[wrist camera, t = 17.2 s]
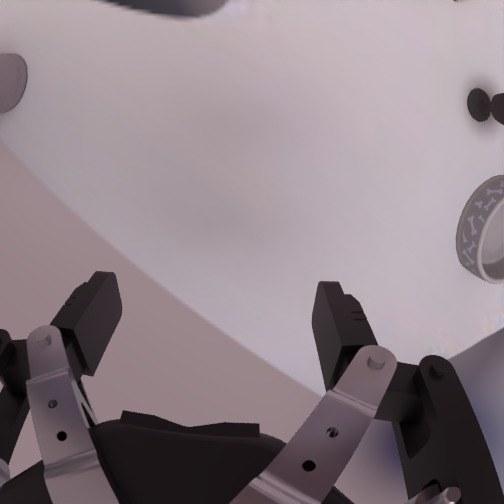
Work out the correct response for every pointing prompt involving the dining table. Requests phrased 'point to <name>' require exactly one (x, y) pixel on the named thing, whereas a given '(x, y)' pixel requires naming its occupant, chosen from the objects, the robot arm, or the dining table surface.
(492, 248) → the dog bowl
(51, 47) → the dining table surface
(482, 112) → the sundae
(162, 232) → the dining table surface
